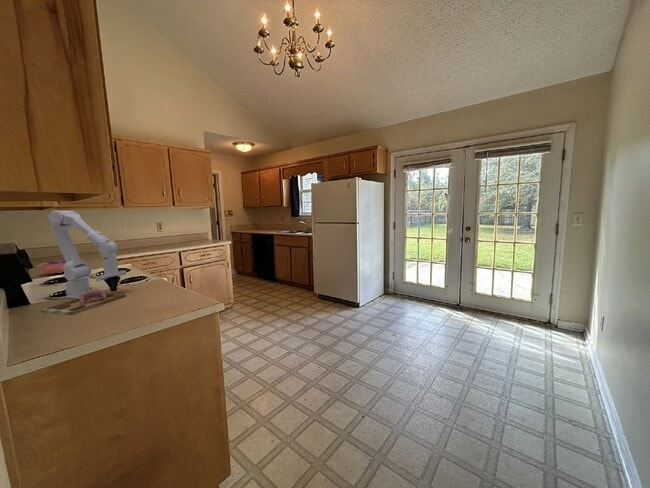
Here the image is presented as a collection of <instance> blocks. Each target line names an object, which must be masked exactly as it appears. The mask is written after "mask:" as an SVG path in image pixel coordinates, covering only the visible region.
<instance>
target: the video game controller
mask: <svg viewBox="0 0 650 488" xmlns="http://www.w3.org/2000/svg"><path fill="white" fill-rule="evenodd" d="M106 293H107V292H106V291H105V290H103V289H100V288H99V289H97V288H96V289H90V290H89V291H86V292H83V293H82V294H81V295H80V296H79V301H78V302H79V303H80V306H81V305H85V302H86V303H87V304H88V303H91V302H92V301H93V299H94V301H95V302H98V301H100V300H102V299H103V300H102V301H105V300H108V298H107V297H108V296H106ZM91 296H95V297H92V298H91Z"/></svg>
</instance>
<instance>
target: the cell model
mask: <svg viewBox="0 0 650 488" xmlns="http://www.w3.org/2000/svg"><path fill="white" fill-rule="evenodd" d="M65 264H66V261H65V259H64V257H62V258H61V259H60V260H55V261H54V260H51V261H50V260H48V261H47V262H44V263H39V264H37V265H36V266H37V268H38V269H39V270H40V271H41V272H42V273H44V274H47V275H50V274H49V273H60V272H64V270H63V267H64V266H65Z"/></svg>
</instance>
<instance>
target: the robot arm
mask: <svg viewBox="0 0 650 488" xmlns="http://www.w3.org/2000/svg"><path fill="white" fill-rule="evenodd" d="M81 217H82V216H81V215H80V214H79V213H78V212H76V211H75V210H72V209H69V210H57V209H55V210H52V211H50V213H49V214H48V216H47V219H48V221H49V224H50V230H51V233H52V234H53V237H54V239H55V241H56V243H57V246H58V248H59V250H60V252H61V255H62V256H63V257H62V258H64V259H65V261H66V264H65V266H64V267H63V270H64V273H63V276H64V278H65V280H67V281H66V282H65V294H66V296H64V298H65V299H78V298H79V296H80V295H81V294H82V293H83V292H86V291H89V290H91V288H90V280H89V278H90V275H91V273H92V268H91V267H90V266H89V265H88V264H87V262H86V261H84V260H83V259H81V257H80V255H79V252H78V251H77V249H76V247H75V245H74V242H73V240H72V237H71V236H70V233H69V231H68V230H69V228H71V226H73V227H75V228H76V229H78V230H79V231H81V232H82V233H83V234H85V235H86V237H87V240H89V242H90V243H92V244H93V245H94V246H95V247H96V248H97V252H99V254H100V256H101V258H102V266H103V274H102V275H99V276H95V281H96V282H101V281H104V282H105V283H106V284H107V286H108V287H109V290H110V293H111V292H112V293H113V292H116V291H117V290H118V285H119V282H120V280H121V276H124V275H128V274H127V273H128V272H127V270H120V271H119V267H118V265H119V264H118V258H117V252H118V250H119V244H118V243H117V242H116V241H115V240H114V241H113V240H110V239H109V238H107V237H106V236H105V235H104V234H103V233H102V232H101V231H98V230H94V229H93V228H91V226H90V225H88V224H87V223H86V221H85V220H83V218H81Z"/></svg>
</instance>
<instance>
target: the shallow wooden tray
mask: <svg viewBox="0 0 650 488" xmlns="http://www.w3.org/2000/svg"><path fill="white" fill-rule="evenodd" d="M105 293H106V297H112V298H107V300H105V301H104V300H102V301H100V302H96V303H93V304H90V305H88V306H86V304H84V305H81V304H80V305H78V306H75V307H72V308H69V307H71V304H74V303H75V304H76V303H77V302H80V301H79V298H78V299H77V298H74V299H71V300H69V301H68V300H67V301H65V302H61V303H59V304H55V305H51V306H48V307H45V308H40V312H41V313H48V314H49V313H50V314H60V315H71V316H72V315H76V314H79V313H82V312H84V311H85V312H86V311H87V310H91V309H93V308H96V307H101V306H103V305H105V304H108V303H112V302H115V301H117V300H119V299H123V298H125V297H127V296H126V294H124V293H111V292H110V293H109V292H105ZM91 298H92V299H93V298H95V296H91ZM66 308H68V309H66Z"/></svg>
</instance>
